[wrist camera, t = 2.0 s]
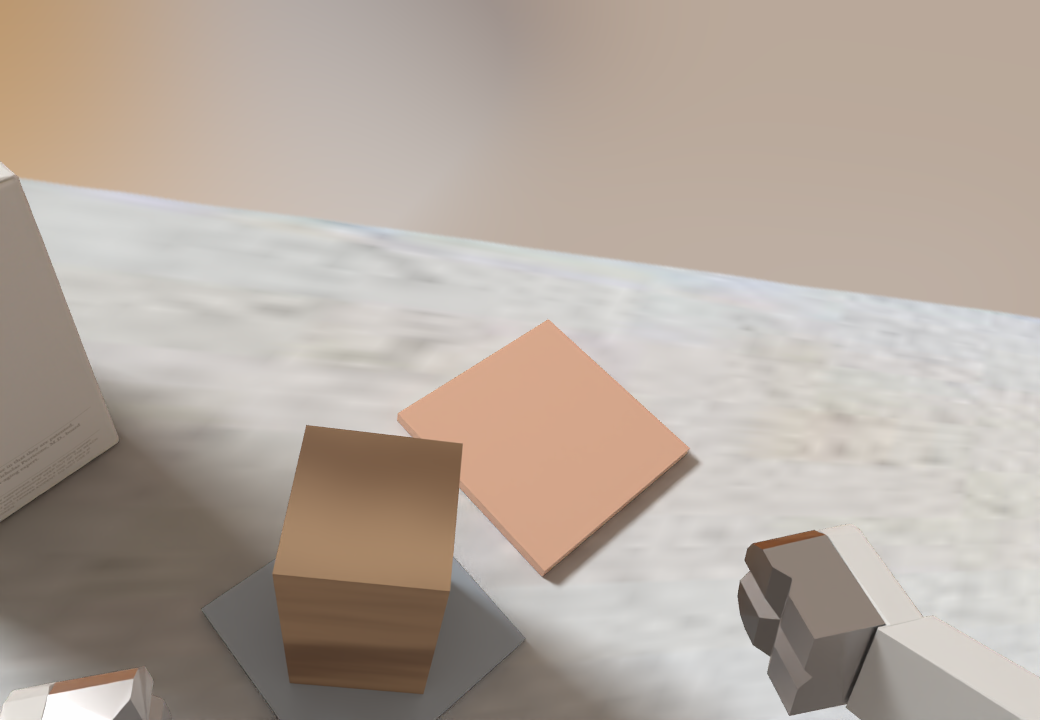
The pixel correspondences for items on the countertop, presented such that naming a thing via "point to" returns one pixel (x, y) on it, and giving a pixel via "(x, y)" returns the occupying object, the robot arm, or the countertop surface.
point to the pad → (546, 442)
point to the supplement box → (40, 366)
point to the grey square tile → (359, 712)
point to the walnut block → (366, 558)
